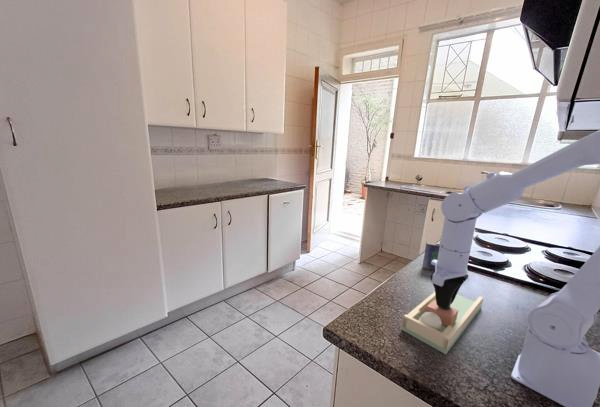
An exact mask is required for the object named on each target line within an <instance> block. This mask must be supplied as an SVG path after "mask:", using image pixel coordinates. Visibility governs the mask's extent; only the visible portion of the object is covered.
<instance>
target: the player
mask: <svg viewBox="0 0 600 407" xmlns="http://www.w3.org/2000/svg"><path fill="white" fill-rule="evenodd" d="M451 300H452V299H451ZM450 305H451V301H450V304H449V306H448V307H447V309H445V308H443V307H440V306H438V305H437V303H436V300H433V301H432V302H431V303H430V304H429V305H428V306H427V310H426V312H433V313H435V314H437V315H438V316H439V317H440V319H441V322H442V324H444V325H446V326H449V325H450V326H452V325H453V323H454V322H455V321H456V320H457V315H458V310H457V309H454V308H452V307H450Z"/></svg>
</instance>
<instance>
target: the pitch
mask: <svg viewBox="0 0 600 407" xmlns="http://www.w3.org/2000/svg"><path fill="white" fill-rule="evenodd" d="M433 300H436V295H435V291H433V293H431V294H430V295H429V296H427V297H426V298H425V299H423V301H421V302H420V303H419V304H418V305H417V306H415V308H413V309H412V310H411V311H410V312H408V314H406V313H405V314H404V315H403V320H402V327H401V330H402V331H404V332H405V333H407V334H409V335H411V336H412V337H414V338H416V339H418V340H419V341H421V342H422V343H425V344H426V345H428V346H430V347H432V348H433V349H434V350H435V349H436V350H437V351H439V352H441V353H442V354H444V355H447V354H448V352H449V351H450V350H451V348H453V346H454V344H455V343H456V342H457V341H458V339H459V338H460V336H461V335H462V334H463V333H464V332H465V330H466V329H467V327H468V326H469V325H470V323H471V322H472V321H473V320H474V318H475V317H476V315H477V314H478V313H479V312H480V311H481V309H482V306H483V301H484V296H481V295H479V296H478V297H477V299H475V300H471V299H469V298H467V297H465V296H463V295H459V294H457V295H456V297H455V299H454V301H453V303H452V304H451V305H450V307H452V308H454V309H457V310H458V315H457V320H456V321H455V322H454V323H453V325H452V326H450V325H449V326H446V325H444V324H442V326H441V329H440V330H439V331H438V330H436V329H434V328H432V327H430V326H428V325H426V324H424V323H422V322H421V317H422V315H423V314H424V313H426V310H427V306H428V305H429V304H430V303H431V302H432V301H433Z"/></svg>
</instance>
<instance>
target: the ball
mask: <svg viewBox="0 0 600 407" xmlns="http://www.w3.org/2000/svg"><path fill="white" fill-rule="evenodd" d="M421 322H422V323H424V324H426V325H428V326H430V327H432V328H434V329H436V330H438V331H439V330H440V329H441V326H442V322H441V319H440V317H439V316H438V315H437V314H435V313H433V312H426V313H424V314H423V315H422V317H421Z"/></svg>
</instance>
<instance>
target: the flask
mask: <svg viewBox="0 0 600 407" xmlns="http://www.w3.org/2000/svg"><path fill="white" fill-rule="evenodd" d="M440 242H441V238H440V239H439V243H437V242H429V241H427V242H426V243H425V247H424V248H425V249H424V254H423V260H422V266H421V267H422V268H423V269H425V270H426V269H427V270H426V271H431V270H433V271H432V272H434V271H435V265H432V264H431V261H432V260H434V259H435V260H438V254H439V248H440Z"/></svg>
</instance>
